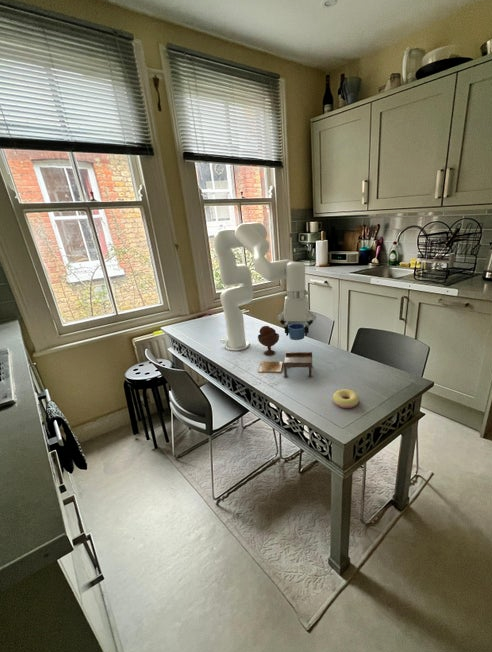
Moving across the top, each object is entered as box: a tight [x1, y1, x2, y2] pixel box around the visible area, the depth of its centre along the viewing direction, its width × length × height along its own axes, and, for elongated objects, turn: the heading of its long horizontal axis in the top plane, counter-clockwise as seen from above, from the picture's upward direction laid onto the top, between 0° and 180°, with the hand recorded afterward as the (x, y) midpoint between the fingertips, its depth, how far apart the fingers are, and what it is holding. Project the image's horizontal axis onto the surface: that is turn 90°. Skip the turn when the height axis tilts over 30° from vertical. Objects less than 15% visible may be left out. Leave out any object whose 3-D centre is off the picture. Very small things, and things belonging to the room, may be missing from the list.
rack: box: [282, 351, 313, 379], centre depth 140 cm, size 12×11×7 cm
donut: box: [332, 388, 360, 409], centre depth 117 cm, size 10×5×9 cm
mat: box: [258, 361, 284, 374], centre depth 147 cm, size 10×10×1 cm
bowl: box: [288, 322, 305, 341], centre depth 134 cm, size 7×7×5 cm
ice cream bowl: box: [257, 325, 280, 356], centre depth 158 cm, size 11×11×15 cm
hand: (296, 334), depth 135 cm, fingers closed on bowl, 7 cm apart
